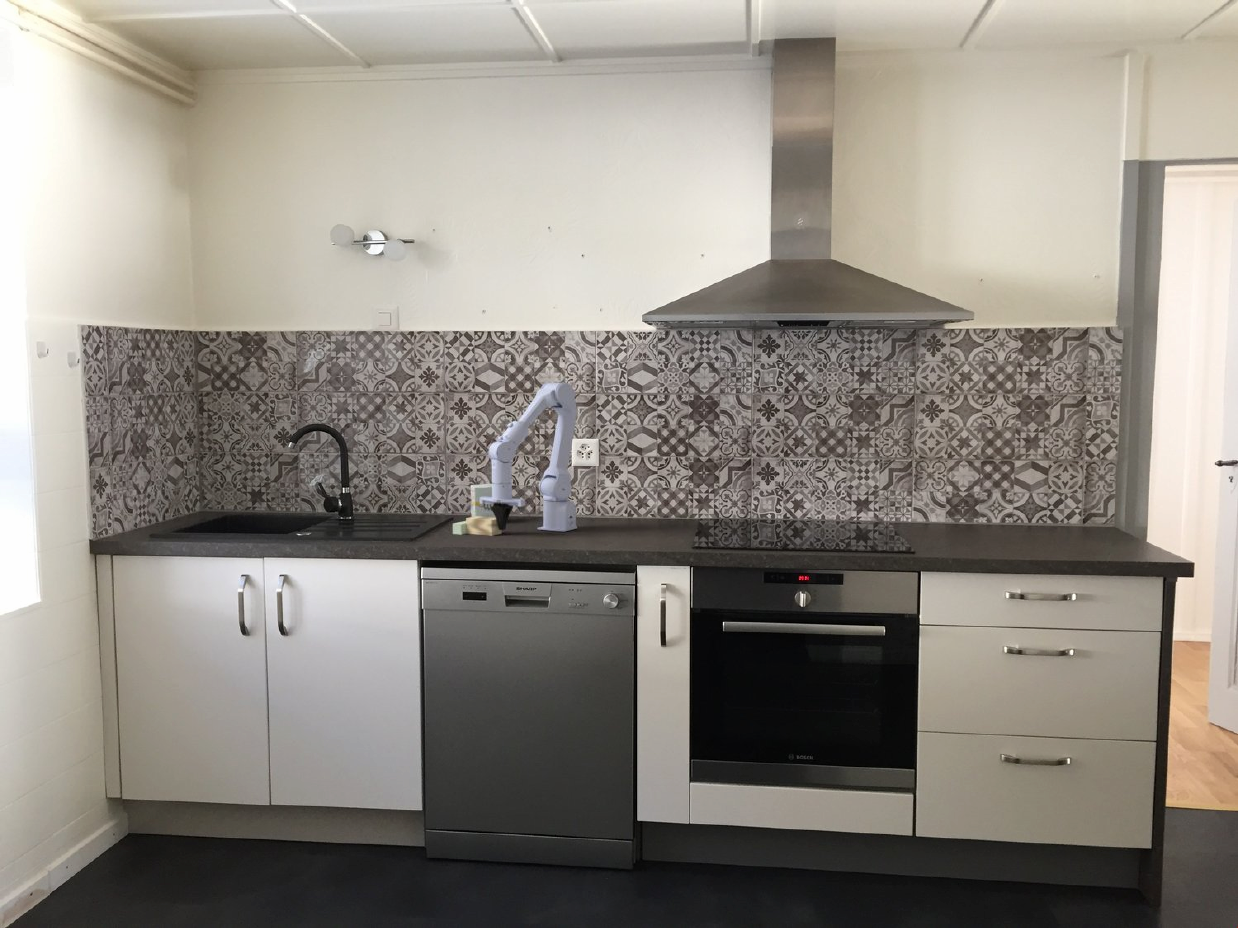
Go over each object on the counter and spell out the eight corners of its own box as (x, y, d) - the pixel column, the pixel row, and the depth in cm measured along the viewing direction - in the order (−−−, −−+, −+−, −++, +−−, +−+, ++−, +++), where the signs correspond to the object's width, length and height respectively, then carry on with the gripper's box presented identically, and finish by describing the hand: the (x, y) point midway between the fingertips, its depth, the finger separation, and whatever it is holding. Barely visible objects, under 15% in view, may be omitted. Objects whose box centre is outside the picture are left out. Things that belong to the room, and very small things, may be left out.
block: (501, 533, 288) (501, 518, 288) (491, 535, 284) (491, 520, 283) (476, 531, 292) (476, 516, 292) (466, 533, 288) (466, 518, 287)
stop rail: (489, 528, 298) (489, 518, 298) (461, 534, 286) (461, 524, 285) (481, 527, 299) (481, 517, 299) (452, 533, 287) (452, 523, 287)
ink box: (470, 520, 314) (469, 484, 313) (496, 519, 316) (496, 483, 315) (474, 524, 305) (474, 486, 304) (501, 523, 308) (501, 486, 307)
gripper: (473, 483, 285) (473, 529, 286) (514, 485, 278) (515, 533, 279) (487, 480, 291) (487, 526, 292) (528, 483, 284) (528, 529, 285)
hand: (502, 529), depth 286 cm, fingers closed
